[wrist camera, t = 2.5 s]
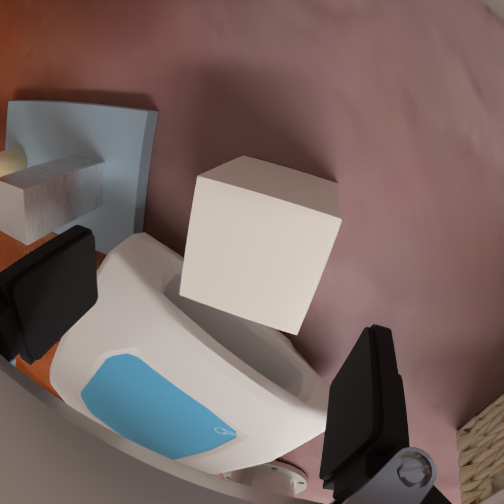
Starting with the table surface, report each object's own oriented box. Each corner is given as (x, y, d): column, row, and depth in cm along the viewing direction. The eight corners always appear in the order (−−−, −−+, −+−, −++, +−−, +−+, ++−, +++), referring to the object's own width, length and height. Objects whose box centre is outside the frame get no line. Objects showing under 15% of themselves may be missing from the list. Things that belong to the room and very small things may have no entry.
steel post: (102, 206, 22) (27, 245, 15) (71, 196, 23) (-1, 229, 16) (105, 161, 21) (23, 189, 14) (73, 154, 21) (-6, 179, 14)
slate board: (141, 257, 25) (94, 295, 20) (17, 206, 27) (-26, 227, 22) (158, 111, 20) (100, 114, 14) (19, 99, 22) (-31, 107, 16)
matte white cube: (309, 268, 22) (296, 335, 15) (224, 241, 23) (179, 295, 16) (338, 183, 19) (342, 219, 12) (243, 155, 20) (197, 175, 13)
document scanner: (67, 359, 35) (42, 389, 30) (149, 217, 22) (98, 255, 17) (186, 448, 38) (171, 481, 33) (344, 381, 25) (341, 440, 20)
